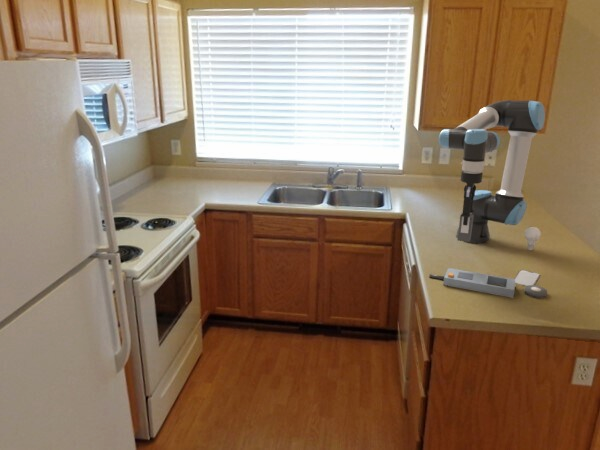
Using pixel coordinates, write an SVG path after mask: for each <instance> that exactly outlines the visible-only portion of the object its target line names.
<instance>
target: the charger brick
mask: <svg viewBox="0 0 600 450" xmlns="http://www.w3.org/2000/svg"><path fill="white" fill-rule="evenodd" d="M461 215H462V213H461V214H460V215H459V225H458V228H459V232H458V238H457V241H460V242H465V243H470V239H471V232H472V224H473V216H474V214H470V222H469V230H468V233H461V224H462V216H461Z"/></svg>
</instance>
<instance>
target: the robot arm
mask: <svg viewBox="0 0 600 450" xmlns="http://www.w3.org/2000/svg"><path fill="white" fill-rule="evenodd" d="M545 119H546V109H545V107H544V105H543V103H542V102H541V101H535V100H514V99H513V100H511V99H505V100H500V101H496V102H493V103H490V104H488V105H485V106H484V107H483V108H481V109H480V110H479V111H478V113H477V114H476V115H474V116H472V117H471V118H470V119H467V120H466V121H464V122H463V123H461V124H460V125H458V126H457V127H455V128H453V129H452V128H444V129H442V130H441V132H440V133H439V136H438V144H439V146H440V147H441V148H444V149H448V150H458V151H459V150H460V151H461V150H462V151H463V156H462V161H461V162H460V165H461V166H462V167H461V170H462V171H461V173H460V174H461V175H460V181H461V182H462V183H465V184H466V185H464V187H463V206H462V212H461V214H462V215H461V214H460V216H462V224H461V233H468V230H469V222H470V214H474V216H473V224H472V232H471V239H470V242H469V243H471V244H484V243H488V242H489V241H490V238H491V235H490V230H489V225H488V224H489V223H488V222H489V221H490V222H495V223H498V224H504V225H507V226H508V225H509V226H517V225H518V224H519V223H521V222H522V220H523V218H524V216H525V214H526V212H527V205H528V203H527V201H526V200H524V198H525V196H524V194H523V193H522V188H523V183H524V178H525V174H526V170H527V169H526V168H527V164H528V159H529V154H530V149H531V144H532V139H533V138H534V137H535V136H537V134H538V131H540V130H542V129H543V128H544V125H545ZM495 127H500V128H501V127H502V128H508V129H507V132H508V134H509V136H510V137H509V142H508V148H507V153H506V158H505V163H504V168H503V172H502V173H503V174H502V179H501V184H500V189H499V190H497V191H495V195H493V193H492V191H490V190H487V189H486V190H485V189H479V190H477V186H476V185H475V184H477V185H478V184H480V183H482V181H483V174H484V173H483V172H484V167H485V157H486V154H487V153H491V152H493V151H495V150H497V149H498V147H499V146H500V143H501V138H500V136H499V134H498V133H496V132H494V131H487V129H492V128H495ZM458 232H459V227H458V228H457V229H456V233H455V237H456V239H458Z"/></svg>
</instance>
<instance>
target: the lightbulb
mask: <svg viewBox="0 0 600 450" xmlns="http://www.w3.org/2000/svg"><path fill="white" fill-rule="evenodd" d="M541 235H542V233H541V231H540V229H539V228H538V227H536V226H530V227H527V228H526V229H525V231H524V237H525V239H526V243H527V245H526V250H527V251H534V247H535V245H536V242H537V241H538V240H540V238H541Z"/></svg>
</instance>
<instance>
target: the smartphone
mask: <svg viewBox="0 0 600 450" xmlns="http://www.w3.org/2000/svg"><path fill="white" fill-rule="evenodd" d="M540 277H541V274H540V273H539V272H538V273H537V272H534V271H529V270H525V269H520V270H519V272H518V273H517V274H516V276H515V277H514V278H513V279H515V285H519V286H524V287H526V286H528V285H535V284H536V283H537V281H538V280H539V278H540Z"/></svg>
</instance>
